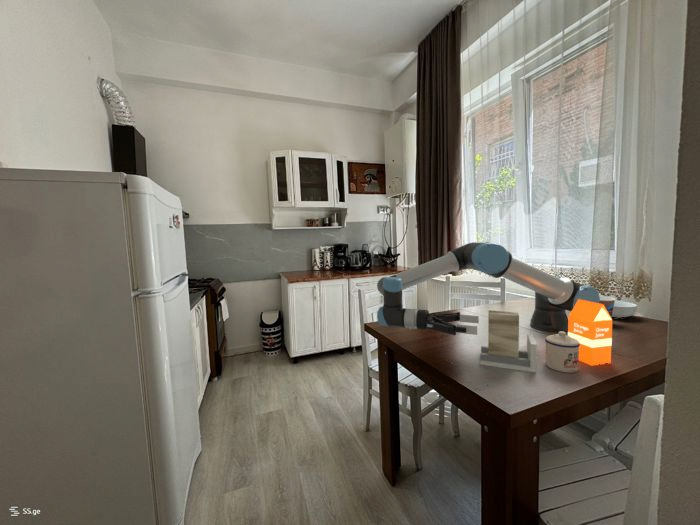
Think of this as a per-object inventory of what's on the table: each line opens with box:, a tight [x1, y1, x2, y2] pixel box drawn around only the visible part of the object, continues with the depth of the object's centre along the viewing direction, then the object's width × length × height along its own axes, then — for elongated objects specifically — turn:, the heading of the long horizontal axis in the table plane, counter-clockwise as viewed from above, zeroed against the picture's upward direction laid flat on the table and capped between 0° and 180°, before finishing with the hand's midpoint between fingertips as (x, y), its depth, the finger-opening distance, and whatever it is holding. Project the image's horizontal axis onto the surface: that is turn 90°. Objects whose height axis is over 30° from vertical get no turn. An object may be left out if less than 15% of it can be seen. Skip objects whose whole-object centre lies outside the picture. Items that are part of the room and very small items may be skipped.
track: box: [479, 332, 538, 374], centre depth 99 cm, size 16×11×9 cm
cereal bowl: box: [612, 300, 638, 318], centre depth 147 cm, size 17×17×7 cm
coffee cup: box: [599, 295, 617, 319], centre depth 138 cm, size 10×10×12 cm
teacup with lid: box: [544, 331, 580, 374], centre depth 95 cm, size 12×9×12 cm
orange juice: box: [567, 299, 613, 367], centre depth 99 cm, size 8×9×20 cm
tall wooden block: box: [487, 310, 520, 358], centre depth 99 cm, size 4×9×16 cm, turn 64°
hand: (478, 324), depth 102 cm, fingers open, 13 cm apart
